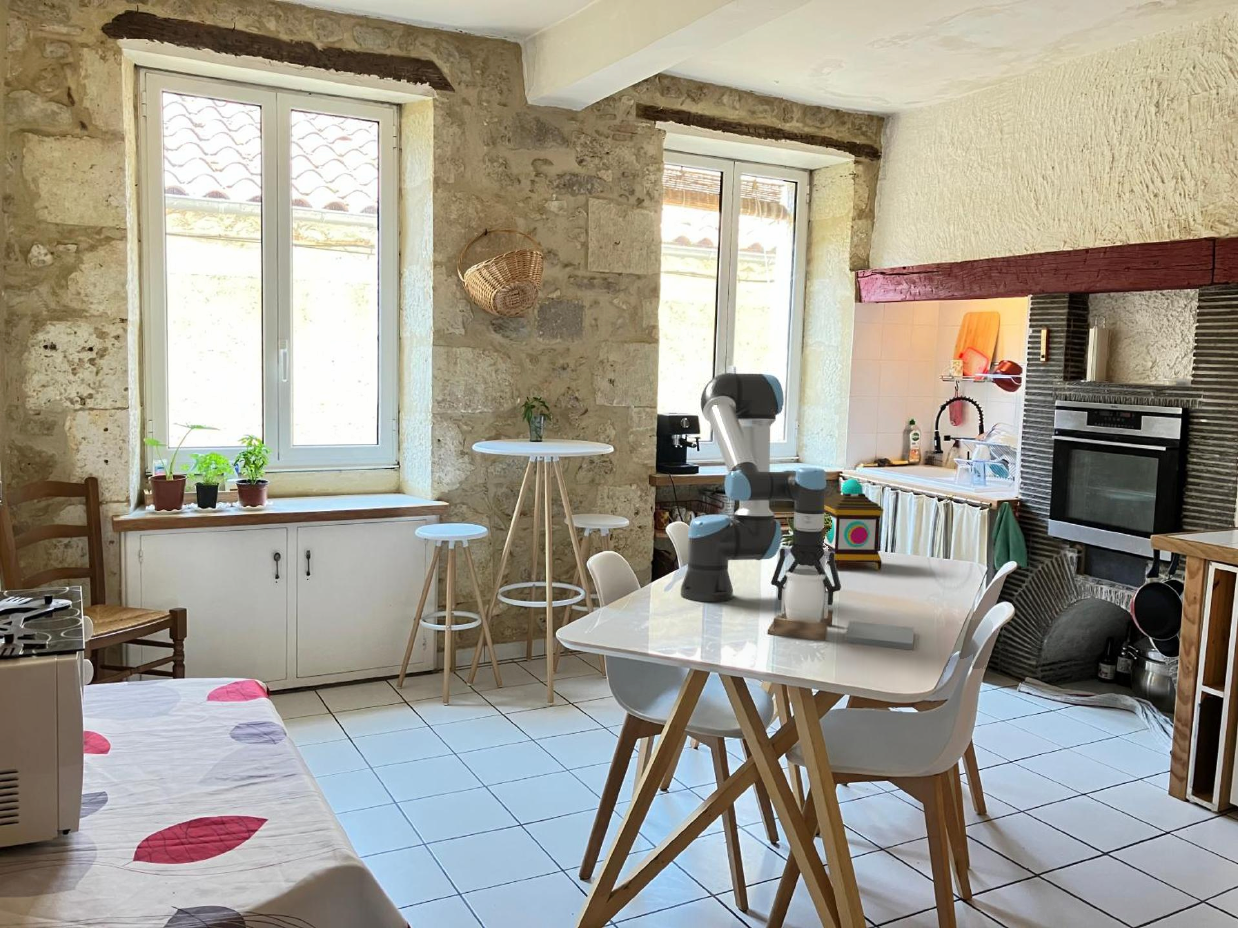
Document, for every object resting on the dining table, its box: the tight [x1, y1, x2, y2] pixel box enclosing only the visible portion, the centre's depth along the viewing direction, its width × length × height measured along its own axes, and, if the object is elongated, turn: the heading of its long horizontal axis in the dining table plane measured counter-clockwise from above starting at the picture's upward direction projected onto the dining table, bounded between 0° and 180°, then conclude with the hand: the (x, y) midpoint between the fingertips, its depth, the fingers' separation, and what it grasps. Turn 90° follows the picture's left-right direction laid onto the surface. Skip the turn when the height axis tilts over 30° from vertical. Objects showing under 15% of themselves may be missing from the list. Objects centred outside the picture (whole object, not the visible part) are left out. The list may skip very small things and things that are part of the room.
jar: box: [784, 567, 828, 622], centre depth 252 cm, size 11×10×15 cm
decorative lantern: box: [824, 478, 884, 571], centre depth 337 cm, size 20×20×30 cm
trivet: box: [844, 620, 915, 650], centre depth 247 cm, size 16×16×2 cm
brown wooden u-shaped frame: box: [766, 608, 834, 641], centre depth 253 cm, size 14×16×4 cm
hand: (804, 614), depth 252 cm, fingers closed on jar, 10 cm apart
